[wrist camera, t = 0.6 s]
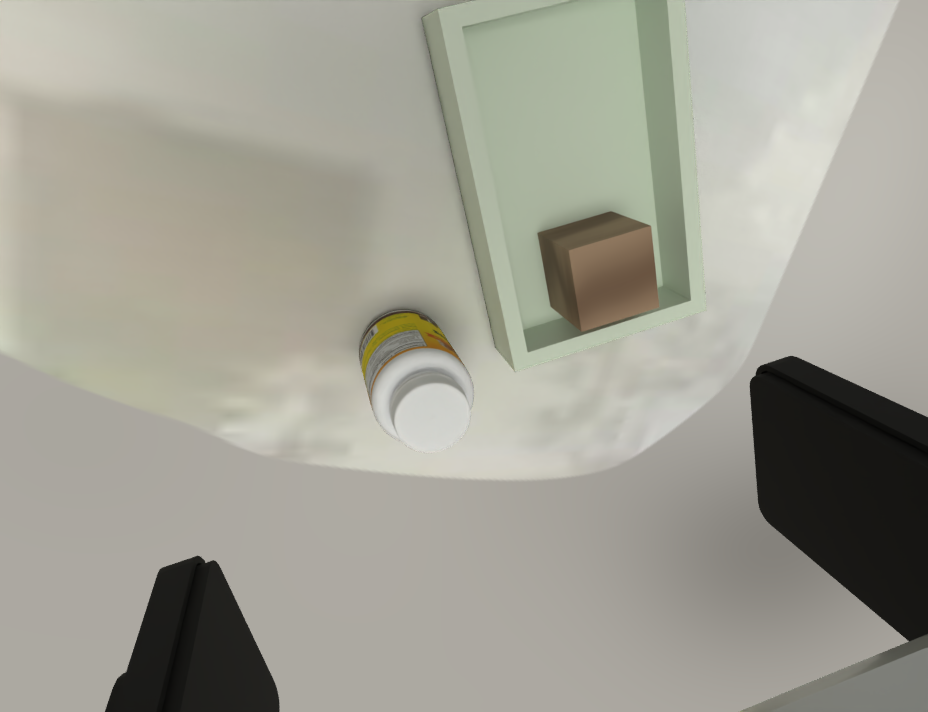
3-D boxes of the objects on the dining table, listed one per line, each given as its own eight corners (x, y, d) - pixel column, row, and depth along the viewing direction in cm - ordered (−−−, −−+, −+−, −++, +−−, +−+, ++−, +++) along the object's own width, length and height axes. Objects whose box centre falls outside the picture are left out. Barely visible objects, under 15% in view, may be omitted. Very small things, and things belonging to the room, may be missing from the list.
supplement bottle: (453, 371, 43) (497, 446, 34) (372, 398, 42) (396, 483, 33) (431, 294, 41) (472, 353, 32) (345, 322, 40) (363, 390, 31)
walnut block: (537, 232, 40) (568, 250, 36) (611, 211, 41) (651, 225, 36) (550, 306, 42) (581, 332, 38) (620, 284, 43) (659, 307, 38)
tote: (421, 17, 35) (437, 9, 31) (640, -35, 37) (681, -49, 33) (495, 347, 43) (515, 372, 40) (671, 292, 45) (706, 310, 41)
